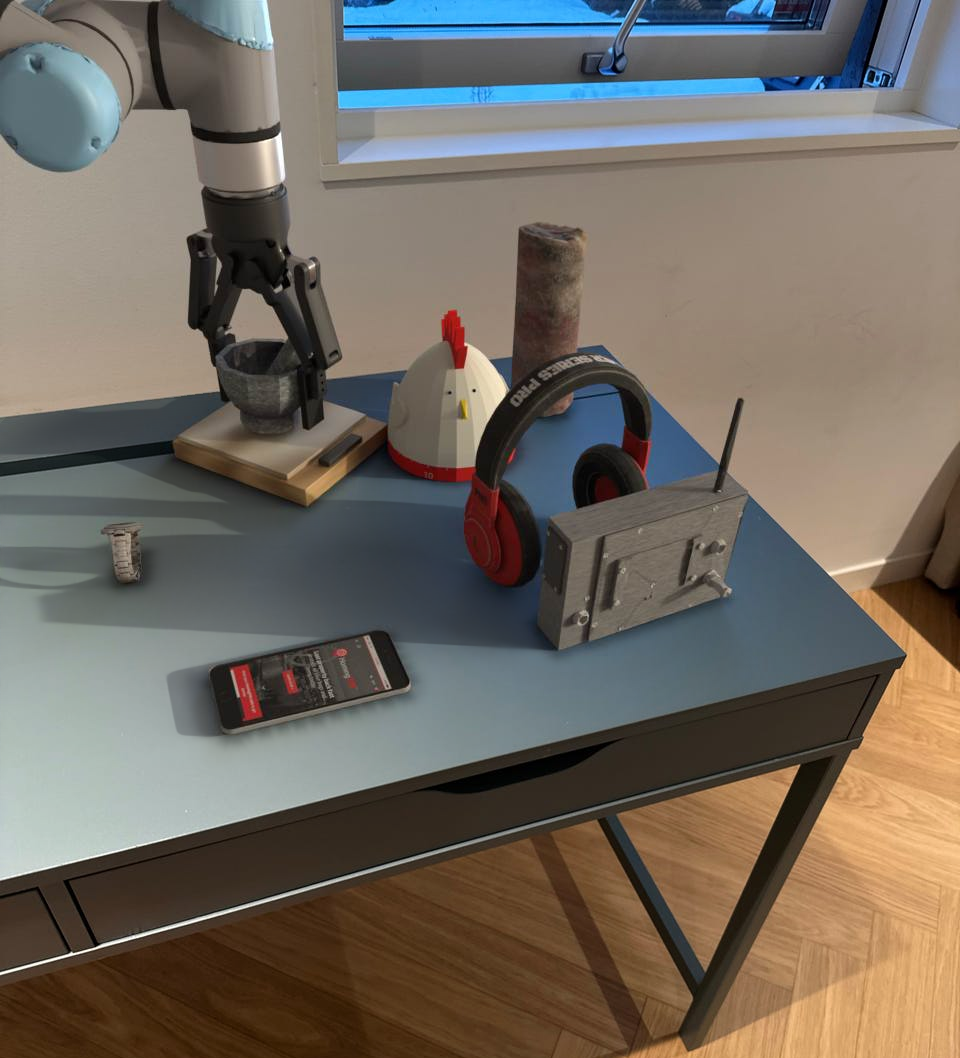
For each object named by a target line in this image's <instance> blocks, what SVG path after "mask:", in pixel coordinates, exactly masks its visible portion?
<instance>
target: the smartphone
mask: <svg viewBox="0 0 960 1058" xmlns="http://www.w3.org/2000/svg"><path fill="white" fill-rule="evenodd" d="M208 677H209V682H210V686H211V691H212V694H213V699H214V704H215V707H216V712H217V716H218V720H219V725H220V728H221V729H220V730H221V731H222V732H223V733H224V734H226V735H236V734H239V733H245V732H248V731H252V730H256V729H261V728H264V727H269V726H273V725H276V724H281V723H285V722H290V721H294V720H298V719H301V718H306V717H311V716H314V715H318V714H322V713H323V714H324V713H326V712H331V711H335V710H339V709H343V708H347V707H351V706H355V705H359V704H364V703H368V702H373V701H376V700H380V699H384V698H385V699H386V698H389V697H393V696H397V695H401V694H404V693H407V692H409V691H410V689H411V687H412V686H411V679H410V676H409V675H408V672H407V670H406V667H405V666H404V663H403V660H402V659H401V657H400V655H399V651H398V650H397V648H396V645H395V643H394V641H393V639H392V637H391V634H390V633H389V631H388V630H386V629H374V630H370V631H366V632H361V633H357V634H352V635H348V636H343V637H337V638H333V639H330V640H325V641H320V642H316V643H315V642H314V643H310V644H306V645H303V646H298V647H293V648H289V649H284V650H280V651H275V652H271V653H270V652H269V653H266V654H265V653H264V654H262V655H261V654H260V655H256V656H253V657H247V658H243V659H239V660H234V661H229V662H226V663H225V662H224V663H220V664H216V665H213V666H212V667H211V668H210V669H209V671H208Z"/></svg>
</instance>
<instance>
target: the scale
mask: <svg viewBox="0 0 960 1058" xmlns="http://www.w3.org/2000/svg"><path fill="white" fill-rule="evenodd" d="M323 409H324V420H323V421H321V422H320V423H318V424H317V425H316V426H314V427H313V428H312V429H310V430H309V431H308V430H305V429H303V426H302V416H301V407H300V408H299V411H300V416H301V421H300V422H299V423H298V425H297V426H296V427H295V429H292V430H289V431H286V432H283V433H279V434H259V433H257V432H254V431H251V430H249V429H246V428H244V426H243V424H242V422H241V420H240V410H239V409H238V408H236V407H235V406H234V404H233V403H232V402H231V401H229V402H227V403H226V404H225V405H223V406H221V407H220V408H218V409H217V410H215V411H214V412H212V413H210V414H209V415H208V416H206V417H205V418H203V419H200V420H199V421H198V422H197V423H195V424H193V425H192V426H189V428H187V429H186V430H184V431H182V432H181V433H180V434H178V435H177V437H176V438H175V439H174V440H172V446H173V451H174V456H175V458H176V459H178V460H181V461H183V462H187V463H189V464H192V465H194V466H197V467H200V468H202V469H205V470H207V471H211V472H213V473H216V474H219V475H222V476H224V477H226V478H228V479H229V478H230V479H231V480H234V481H237V482H240V483H241V484H245V485H247V486H250V487H253V488H256V489H259V490H260V491H264V492H267V493H270V494H272V495H274V496H277V497H280V498H283V499H285V500H288V501H290V502H293V503H295V504H298V505H301V506H304V507H309V506H310V505H311V504H313V502H315V501H316V500H317V499H319V498H320V497H321V496H322V495H323V494H324V493H326V492H327V491H328V490H329V489H331V487H333V486H334V485H335V484H337V483H338V482H339V481H340V480H341V479H342V478H344V477H346V475H347V474H349V473H350V472H351V471H352V470H353V469H355V468H356V467H357V466H359V464H361V463H362V462H363V461H364V460H366V459H367V458H368V457H369V456H371V455H372V454H373V453H374V452H376V451H377V450H378V449H379V448H380V447H382V446H383V445H384V444H385V443H386V442H388V422H384V421H381V420H378V419H374V418H372V417H369V416H367V414H366V413H362V412H360V411H357V410H354V409H351V408H349V407H344V406H341V405H338V404H336V403H332V402H330V401H326V400H323Z"/></svg>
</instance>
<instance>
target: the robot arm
mask: <svg viewBox="0 0 960 1058" xmlns="http://www.w3.org/2000/svg"><path fill="white" fill-rule="evenodd" d="M270 19H271V18H270V12H269V5H268V0H158V1H157V0H152V1H141V0H140V1H139V0H23V1H21V2H20V3H19V2H18V1H16V0H0V136H1V137H2V139H3V140H4V141H5V143H6V144H7V145H8V146H9V147H10V148H11V149H12V150H13V152H14V153H15V154H16V155H17V156H19V157H20V158H21V159H22V160H24V161H25V162H27V163H29V164H31V165H32V166H34V167H36V168H39V169H42V170H45V171H48V172H52V173H72V172H76V171H81V170H83V169H84V168H87V167H88V166H90V165H91V164H92V163H94V162H95V161H96V160H97V159H98V158H99V157H100V156H101V155H103V154H105V153H107V151H108V149H109V148H110V146H111V145H112V144H113V143H115V141H116V140H117V138H118V135H119V134H120V130H121V127H122V124H123V123H124V122H125V120H126V119H127V117H128V116H129V114H130V112H131V111H135V110H137V111H141V110H144V111H145V110H147V111H150V110H151V111H152V110H153V111H154V110H157V111H165V110H166V111H177V110H186V111H187V114H188V118H189V121H190V122H189V125H190V132H191V136H192V142H193V149H194V158H195V163H196V170H197V177H198V182H199V183H201V184H202V185H203V187H202V189H201V191H200V195H201V202H202V207H203V215H204V221H205V226H206V228H203V229H200V230H199V231H197V232H194V233H192V234H190V235H188V236H187V237H186V245H187V251H188V253H189V254H188V255H189V260H190V267H189V283H188V284H189V285H188V304H187V305H188V306H187V308H188V309H187V325H188V327H189V328H190V329H191V330H193V331H196V330H198V331H200V332H202V335H203V337H204V339H205V340H206V341H207V345H208V350H209V351H208V352H209V356H210V362H211V364H212V367H213V368H215V370H216V376H217V377H216V378H217V382H218V387H219V395H220V400H221V402H223V403H226V404H228V403H229V402H231V400H230V399H229V397H228V396H227V394H226V392H225V390H224V388H223V387H222V385H221V382H220V379H219V375H218V372H217V367H216V359H215V357H216V356H217V355H218V354H219V353H220V352H221V351H222V350H223V349H224V348H225V347H226V346H227V345H229V344H233V343H237V339H236V334H235V333H231V332H228V331H229V330H231V329H232V328H233V326H231V322H232V319H233V316H234V314H235V310H236V308H237V305H238V302H239V300H240V297H241V294H242V292H243V290H251V291H252V292H254V293H256V294H258V295H261V296H262V298H263V300H264V302H265V303H266V305H267V306H269V307H272V309H273V311H274V313H275V315H276V316H277V318H278V321H279V322H280V325H281V327H282V329H283V331H284V332H285V334H286V336H287V339H288V338H289V340H290V342H291V344H292V346H293V348H294V350H295V352H296V353H297V355H298V357H299V359H300V361H301V363H302V365H303V366H301V367H300V368H298V369H297V378H298V388H299V397H300V407H301V416H302V426H303V429H305V430H308V431H309V430H310V429H312V428H313V427H314V426H316V425H317V424H318V423H320V422H321V421H323V420H324V409H323V401H324V399H323V397H325V396H326V395H327V393H328V386H327V384H328V383H327V372H326V371H327V370H328V369H330V368H331V367H333V366H334V365H336V364H337V363H339V362H340V361H342V359H343V353H342V349H341V346H340V343H339V339H338V336H337V333H336V329H335V325H334V323H333V320H332V316H331V313H330V309H329V306H328V303H327V299H326V296H325V292H324V289H323V285H322V281H321V280H322V278H321V275H322V273H321V272H322V271H321V262H320V260H319V259H318V257H316V256H310V257H308V258H307V259H305V258H303V257H300V256H297V255H294V253H293V250H292V249H291V246H290V243H289V242H288V241H289V240H288V237H289V232H290V227H291V215H290V214H291V213H290V206H289V205H290V204H289V195H288V188H287V187H286V186H285V185H284V183H283V182H284V181H285V179H286V168H285V159H284V158H285V157H284V149H283V148H284V147H283V138H282V126H281V115H280V103H279V92H278V81H277V68H276V58H275V46H274V45H275V44H274V42H275V41H274V38H273V35H272V28H271V20H270ZM218 260H219V262H220V265H221V267H220V270H219V273H218V277H217V267H218ZM216 286H217V288H216ZM280 286H281V287H282V289H281V290H279V291H278V292H276V291H275V290H276V289H279V287H280ZM226 332H228V333H226ZM311 353H312V356H311Z"/></svg>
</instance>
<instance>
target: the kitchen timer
mask: <svg viewBox="0 0 960 1058" xmlns="http://www.w3.org/2000/svg"><path fill="white" fill-rule="evenodd" d="M443 315H444V316H443V318H441V319H440V324H441V337H442V339H441V340H442V341H440V342H438V343H436V344H433V345H431V346H430V347H428V348H427V349H425V350H424V352H423V351H422V353H421V354H420V355H418V356H417V358H416V359H415V360H414V361H413V362H412V363H411V365H410V366H409V367H408V369H407V371H406V372H405V374H404V376H403V377H402V379H401V382H400V383H398V382H396V381H394V382H393V384H392V389H391V397H390V403H389V409H388V422H387V424H388V440H387V449H388V454H389V456H390V457H391V459H392V461H393V462H394V463H395V464H396V465H398V466H399V467H400V468H401V469H403V470H404V471H405V472H408V473H410V474H413V475H415V476H416V477H420V478H423V479H428V480H433V481H438V482H452V483H459V482H468V481H472V474H473V472H475V471H476V470H475V459H476V452H477V449H478V446H479V442H480V439H481V436H482V434H483V432H484V429H485V427H486V424H487V423H488V421H489V419H490V417H491V416H492V414H493V412H494V411H495V409H496V407H497V406H498V405H499V404H500V402H501V401H502V400H503V398H504V397H505V396H506V394H507V393H508V392H509V391H510V390H511V389H509V387H508V385H507V383H506V380H505V379H504V377H503V376H502V375H503V374H501V373H499V372H498V370H497V368H496V367H495V366H494V365H493V363H492V362H491V361H490V360H489V359H488V357H486V355H485V354H484V353H483V352H482V351H480V350H479V349H478V348H476V347H475V346H473V345H472V344H469V343H468V342H465V340H466V339H465V335H466V332H465V331H466V328H465V326H461V325H462V324H461V316H458V309H451V310H447V313H444V314H443ZM515 451H516V448H515V449H514V451H513V453H512V455H511V457H510V459H509V462H508V464H510V463H511V461H512V460H513V457H514V454H515Z"/></svg>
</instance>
